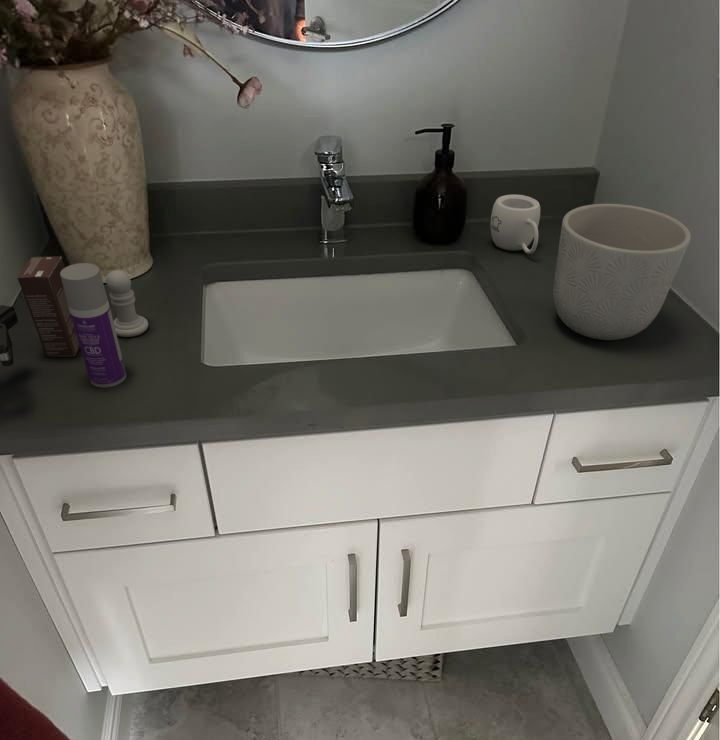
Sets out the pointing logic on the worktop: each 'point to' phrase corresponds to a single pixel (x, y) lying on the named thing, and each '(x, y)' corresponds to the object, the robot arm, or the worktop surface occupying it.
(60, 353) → the box
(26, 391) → the worktop surface
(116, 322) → the chess piece
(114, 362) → the container
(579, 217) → the planter
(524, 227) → the mug
